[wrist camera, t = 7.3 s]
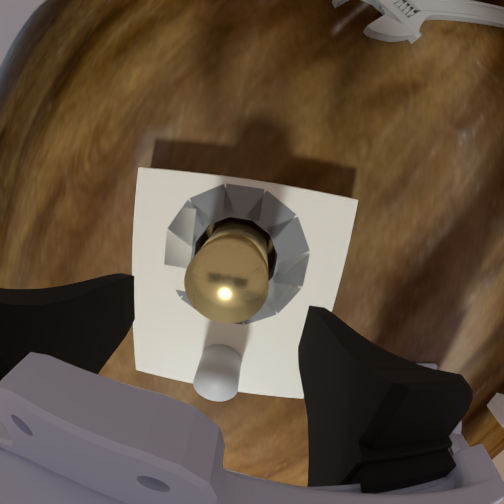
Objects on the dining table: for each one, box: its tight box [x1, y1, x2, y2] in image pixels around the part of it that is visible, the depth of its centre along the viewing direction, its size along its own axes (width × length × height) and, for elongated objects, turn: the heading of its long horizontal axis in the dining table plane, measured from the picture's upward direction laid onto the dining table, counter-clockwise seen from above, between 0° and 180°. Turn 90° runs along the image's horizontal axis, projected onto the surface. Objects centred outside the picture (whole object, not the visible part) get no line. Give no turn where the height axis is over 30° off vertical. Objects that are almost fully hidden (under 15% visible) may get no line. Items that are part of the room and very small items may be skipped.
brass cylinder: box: [184, 219, 269, 323], centre depth 17 cm, size 4×4×7 cm
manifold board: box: [132, 168, 358, 401], centre depth 19 cm, size 14×16×5 cm
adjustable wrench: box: [332, 0, 504, 44], centre depth 13 cm, size 25×6×2 cm, turn 106°
